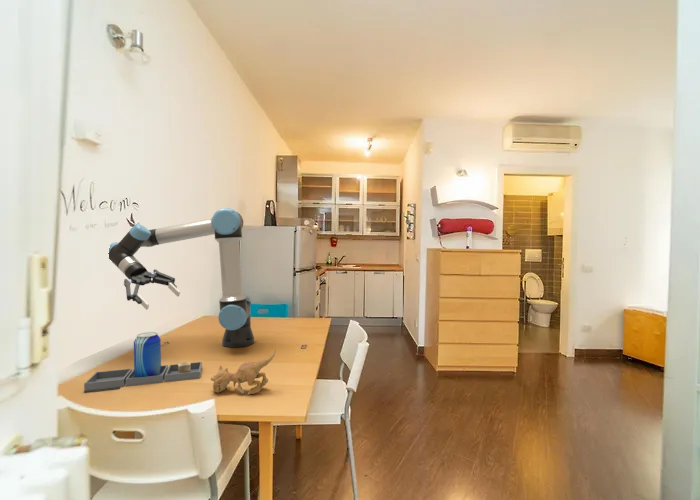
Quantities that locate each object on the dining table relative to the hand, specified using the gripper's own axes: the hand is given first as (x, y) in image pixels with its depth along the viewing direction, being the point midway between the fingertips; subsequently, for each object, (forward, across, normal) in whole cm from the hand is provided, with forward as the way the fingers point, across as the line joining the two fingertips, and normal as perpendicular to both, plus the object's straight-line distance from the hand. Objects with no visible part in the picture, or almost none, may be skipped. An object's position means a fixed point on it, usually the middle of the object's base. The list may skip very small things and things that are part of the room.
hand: (163, 300), depth 149 cm
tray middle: (+22, +20, -10) cm, 32 cm away
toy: (+54, +9, +9) cm, 56 cm away
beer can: (+22, +19, -10) cm, 31 cm away
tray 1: (+15, +28, -13) cm, 35 cm away
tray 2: (+30, +10, -8) cm, 33 cm away
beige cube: (+30, +10, -7) cm, 32 cm away
